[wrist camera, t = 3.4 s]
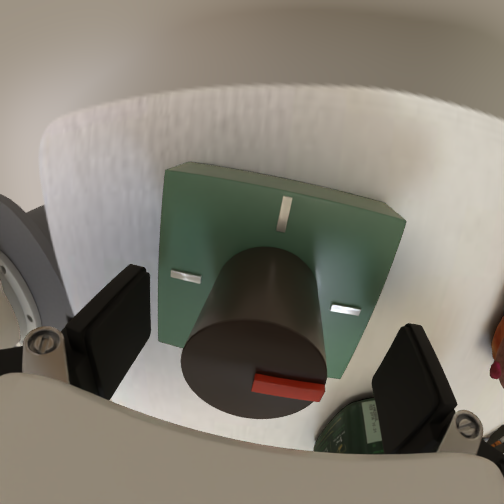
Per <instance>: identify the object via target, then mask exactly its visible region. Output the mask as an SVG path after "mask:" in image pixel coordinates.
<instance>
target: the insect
mask: <svg viewBox="0 0 504 504" xmlns="http://www.w3.org/2000/svg"><path fill="white" fill-rule="evenodd" d="M503 436H504V425H502V426H501V427H500V428H498V430H497V431H495V432H494V433H493V434H492V435H491V437H490V439H489V440H488V442H487V443H488V444H490V445H491V446H492V447H494V448H495V449H497V450H498V451H499V452H501V453H502V454H503V453H504V443H501V441H498V440H499V439H500V438H502V437H503Z"/></svg>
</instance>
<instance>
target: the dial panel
mask: <svg viewBox="0 0 504 504" xmlns="http://www.w3.org/2000/svg"><path fill="white" fill-rule="evenodd" d="M405 225H406V220H405V219H404V218H403V217H401V216H400V215H399V214H398V213H397V212H395V211H394V210H393V209H392V208H391V207H389V206H388V205H387V204H386V203H383V202H380V201H376V200H372V199H369V198H365V197H361V196H357V195H353V194H349V193H345V192H341V191H337V190H333V189H329V188H325V187H321V186H316V185H312V184H308V183H303V182H299V181H294V180H289V179H285V178H280V177H275V176H270V175H265V174H259V173H254V172H249V171H243V170H238V169H232V168H226V167H220V166H214V165H208V164H201V163H194V162H187V163H184V164H181V165H178V166H175V167H172V168H169V169H167V170H165V176H164V186H163V198H162V211H161V225H160V243H159V269H158V341H159V342H162V343H166V344H169V345H173V346H176V347H180V348H184V346H185V343H186V341H187V339H188V337H189V335H190V333H191V331H192V329H193V327H194V324H195V322H196V320H197V318H198V316H199V314H200V312H201V310H202V308H203V306H204V304H205V302H206V299H207V297H208V295H209V293H210V291H211V289H212V287H213V285H214V283H215V281H216V279H217V277H218V275H219V273H220V271H221V269H222V267H223V266H224V265H225V263H226V262H227V261H228V260H229V259H230V258H232V257H233V256H234V255H236V254H238V253H239V252H241V251H244V250H247V249H250V248H254V247H262V246H263V247H275V248H280V249H283V250H286V251H288V252H291V253H293V254H294V255H296V256H297V257H299V258H300V259H301V260H303V261H304V262H305V263H306V264H307V266H308V267H309V268H310V269H311V271H312V273H313V275H314V277H315V280H316V283H317V288H318V295H319V303H320V310H321V318H322V327H323V335H324V344H325V353H326V363H327V377H329V378H336V379H340V378H341V377H342V375H343V373H344V371H345V369H346V367H347V365H348V363H349V361H350V359H351V358H352V356H353V353H354V351H355V349H356V347H357V345H358V343H359V341H360V339H361V337H362V335H363V333H364V330H365V328H366V326H367V324H368V322H369V319H370V317H371V315H372V313H373V310H374V308H375V306H376V303H377V301H378V298H379V296H380V294H381V291H382V289H383V286H384V284H385V281H386V279H387V276H388V273H389V271H390V268H391V265H392V263H393V260H394V257H395V254H396V252H397V249H398V246H399V243H400V240H401V237H402V234H403V231H404V228H405Z"/></svg>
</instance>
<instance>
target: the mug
mask: <svg viewBox="0 0 504 504" xmlns="http://www.w3.org/2000/svg"><path fill="white" fill-rule="evenodd" d="M491 346H492V356H493V358H494V363H493V364H492V365H491V368H490V376H491V378H494V379H498V378H499V380H500V383H501V385H502V387H503V388H504V316H503V318H502V319H501V321H500V323H499V324H498V326H497V328H496V331H495V334H494V337H493V340H492V344H491Z"/></svg>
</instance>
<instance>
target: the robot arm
mask: <svg viewBox="0 0 504 504" xmlns="http://www.w3.org/2000/svg"><path fill="white" fill-rule="evenodd" d="M150 333H151V319H150V274H149V273H148V272H146V269H145V268H144V267H141V266H137V265H133V264H129V265H128V266H127V267H126V268H125V269H124V270H123V271H121V272H120V273H119V274H118V275H117V276H116V277H115V278H114V279H113V280H112V281H111V282H110V283H109V284H107V285H106V286H105V287H104V288H103V289H102V290H101V291H100V292H99V293H98V294H97V295H96V296H95V297H94V298H93V299H92V300H91V301H90V302H89V303H88V304H87V305H86V306H85V307H84V308H82V309H81V310H80V311H79V312H78V313H77V314H76V315H75V316H74V317H73V318H72V319H71V320H70V321H69V322H68V323H67V324H66V326H65V328H64V329H63V330H62V331H61V332H60V330H58V329H56V328H54V327H50V326H43V327H42V326H41V319H40V315H39V311H38V309H37V306H36V303H35V301H34V298H33V296H32V294H31V292H30V290H29V288H28V286H27V284H26V282H25V280H24V279H23V277H22V276H21V274H20V272H19V271H18V270H17V268H16V267H15V266H14V264H13V263H12V262H11V261H10V260H9V258H8V257H7V256H6V255H5V254H4V253H2V252H1V251H0V504H504V454H502V453H501V452H499V451H498V450H497V449H495V448H494V447H492V446H491V445H490V444H488V443H487V442H485V441H484V440H483V439H482V436H483V426H482V423H481V421H480V420H479V418H478V417H477V416H476V415H475V414H473V413H472V412H470V411H467V410H460V411H458V412H456V413H455V410H454V408H455V407H456V406H457V405H458V404H457V402H456V399H455V397H454V394H453V392H452V390H451V387H450V385H449V383H448V380H447V378H446V376H445V373H444V371H443V369H442V367H441V365H440V362H439V360H438V358H437V356H436V354H435V352H434V350H433V348H432V345H431V343H430V341H429V339H428V337H427V335H426V333H425V331H424V329H423V327H422V326H421V325H416V324H409V323H408V324H406V325H405V326H403V327H401V328H400V330H399V332H398V333H397V335H396V337H395V339H394V341H393V343H392V345H391V347H390V348H389V350H388V352H387V354H386V356H385V357H384V359H383V361H382V363H381V364H380V366H379V368H378V369H377V371H376V373H375V375H374V376H373V379H372V388H373V393H374V398H375V403H376V409H377V414H378V420H379V426H380V432H381V438H382V444H383V451H384V454H383V455H367V454H339V453H325V452H313V451H304V450H295V449H287V448H280V447H273V446H267V445H261V444H255V443H250V442H245V441H240V440H235V439H231V438H226V437H222V436H218V435H213V434H209V433H205V432H202V431H198V430H194V429H190V428H187V427H183V426H180V425H177V424H173V423H170V422H167V421H164V420H161V419H158V418H155V417H152V416H149V415H146V414H143V413H141V412H138V411H135V410H132V409H130V408H127V407H124V406H122V405H119V404H116V403H114V402H111V401H109V400H110V399H111V397H112V396H113V394H114V392H115V391H116V389H117V388H118V386H119V384H120V383H121V381H122V380H123V378H124V376H125V375H126V373H127V372H128V370H129V368H130V367H131V365H132V364H133V362H134V361H135V359H136V357H137V356H138V354H139V353H140V351H141V350H142V348H143V347H144V345H145V343H146V342H147V340H148V339H149V336H150ZM15 345H16V346H18V347H14V346H15Z"/></svg>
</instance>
